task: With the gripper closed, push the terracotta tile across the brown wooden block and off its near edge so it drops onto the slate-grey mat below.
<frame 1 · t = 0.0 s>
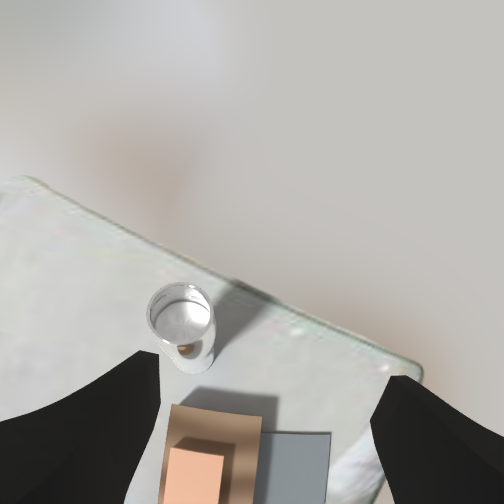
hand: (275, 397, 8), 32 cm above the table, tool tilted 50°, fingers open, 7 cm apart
brown wooden block: (208, 481, 29), on the table
mat: (288, 487, 30), on the table
tile: (194, 484, 26), point 4 cm above the table, touching brown wooden block
beer glass: (193, 354, 40), on the table
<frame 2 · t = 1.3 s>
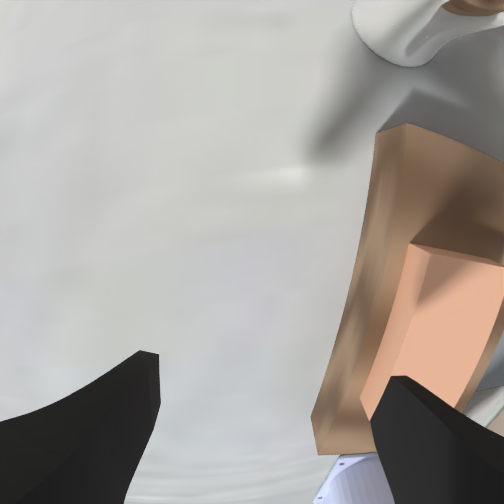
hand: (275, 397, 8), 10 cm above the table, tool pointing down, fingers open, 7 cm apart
brown wooden block: (419, 305, 18), on the table
tile: (430, 331, 14), point 4 cm above the table, touching brown wooden block
beer glass: (393, 29, 13), on the table
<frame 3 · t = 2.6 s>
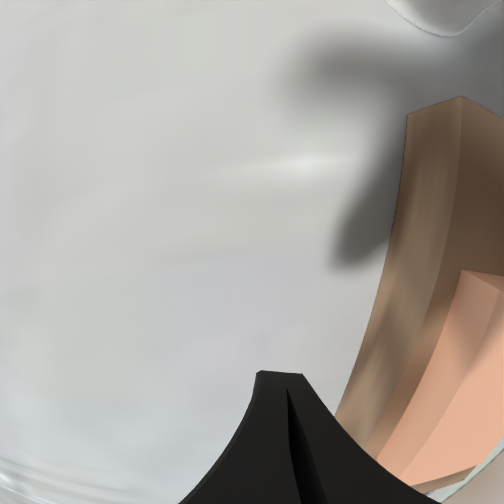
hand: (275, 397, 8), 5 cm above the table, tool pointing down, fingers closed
brown wooden block: (451, 336, 13), on the table
tile: (471, 379, 9), point 4 cm above the table, touching brown wooden block
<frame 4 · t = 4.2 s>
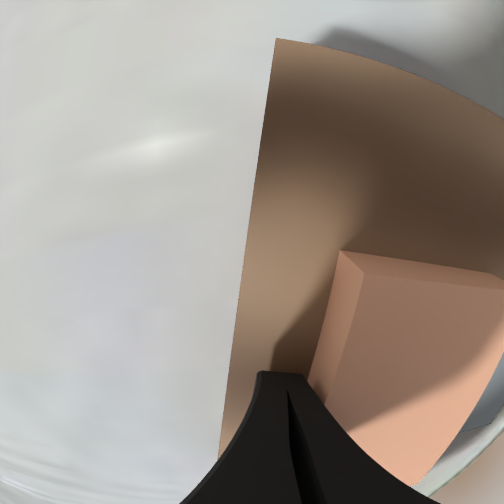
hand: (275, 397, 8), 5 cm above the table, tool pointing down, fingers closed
brown wooden block: (356, 333, 13), on the table
mat: (498, 336, 13), on the table
tile: (386, 385, 9), point 4 cm above the table, touching brown wooden block, gripper
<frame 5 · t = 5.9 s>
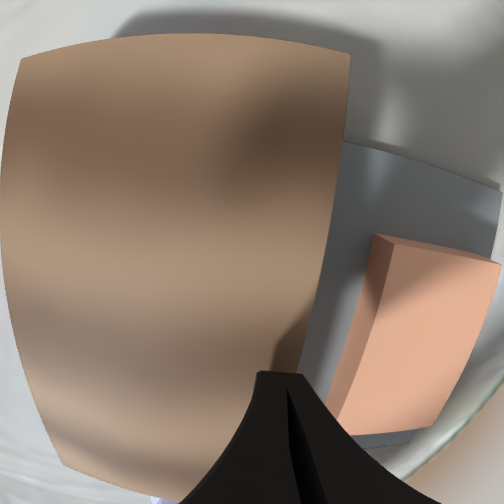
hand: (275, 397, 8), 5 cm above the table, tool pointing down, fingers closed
brown wooden block: (159, 309, 13), on the table
mat: (385, 335, 13), on the table
tile: (423, 359, 10), point 2 cm above the table, tilted 180°, touching mat
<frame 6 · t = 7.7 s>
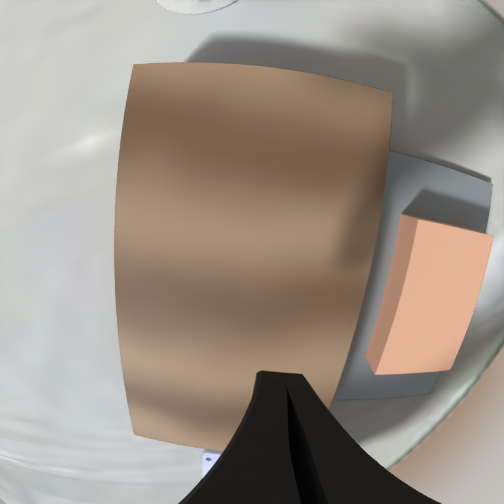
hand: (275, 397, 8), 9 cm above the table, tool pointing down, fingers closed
brown wooden block: (240, 276, 16), on the table
mat: (410, 293, 17), on the table
tile: (440, 306, 14), point 2 cm above the table, tilted 180°, touching mat
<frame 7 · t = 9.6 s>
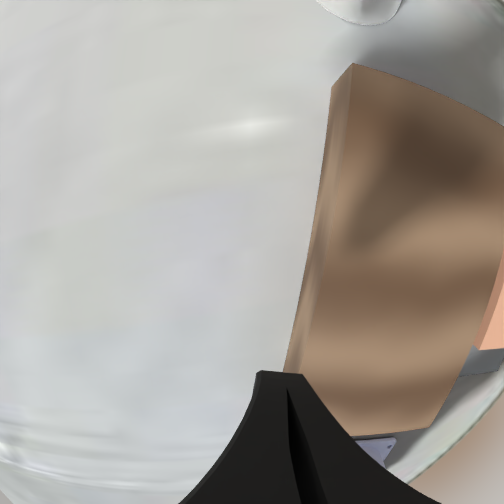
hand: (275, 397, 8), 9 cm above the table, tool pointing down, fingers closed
brown wooden block: (391, 270, 17), on the table
mat: (496, 285, 17), on the table
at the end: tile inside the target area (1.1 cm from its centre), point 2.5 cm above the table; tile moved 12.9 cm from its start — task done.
